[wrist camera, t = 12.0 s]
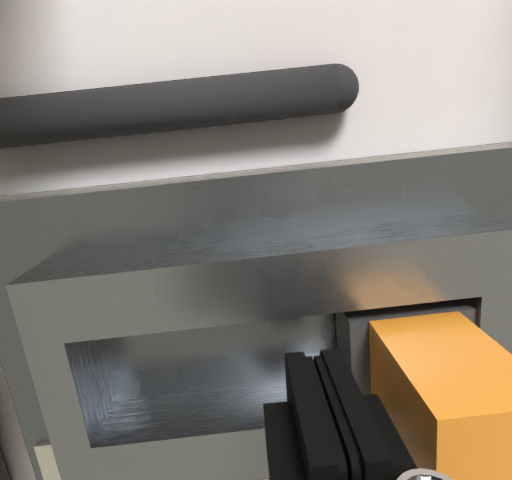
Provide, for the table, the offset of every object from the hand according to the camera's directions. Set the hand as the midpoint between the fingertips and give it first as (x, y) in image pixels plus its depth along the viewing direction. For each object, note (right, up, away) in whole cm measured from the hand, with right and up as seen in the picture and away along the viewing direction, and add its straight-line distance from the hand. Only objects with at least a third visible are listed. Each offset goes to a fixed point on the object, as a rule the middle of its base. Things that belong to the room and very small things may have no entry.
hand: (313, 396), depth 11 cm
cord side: (-5, +9, +3) cm, 11 cm away
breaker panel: (-1, +1, +5) cm, 6 cm away
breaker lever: (+3, +1, +3) cm, 5 cm away
